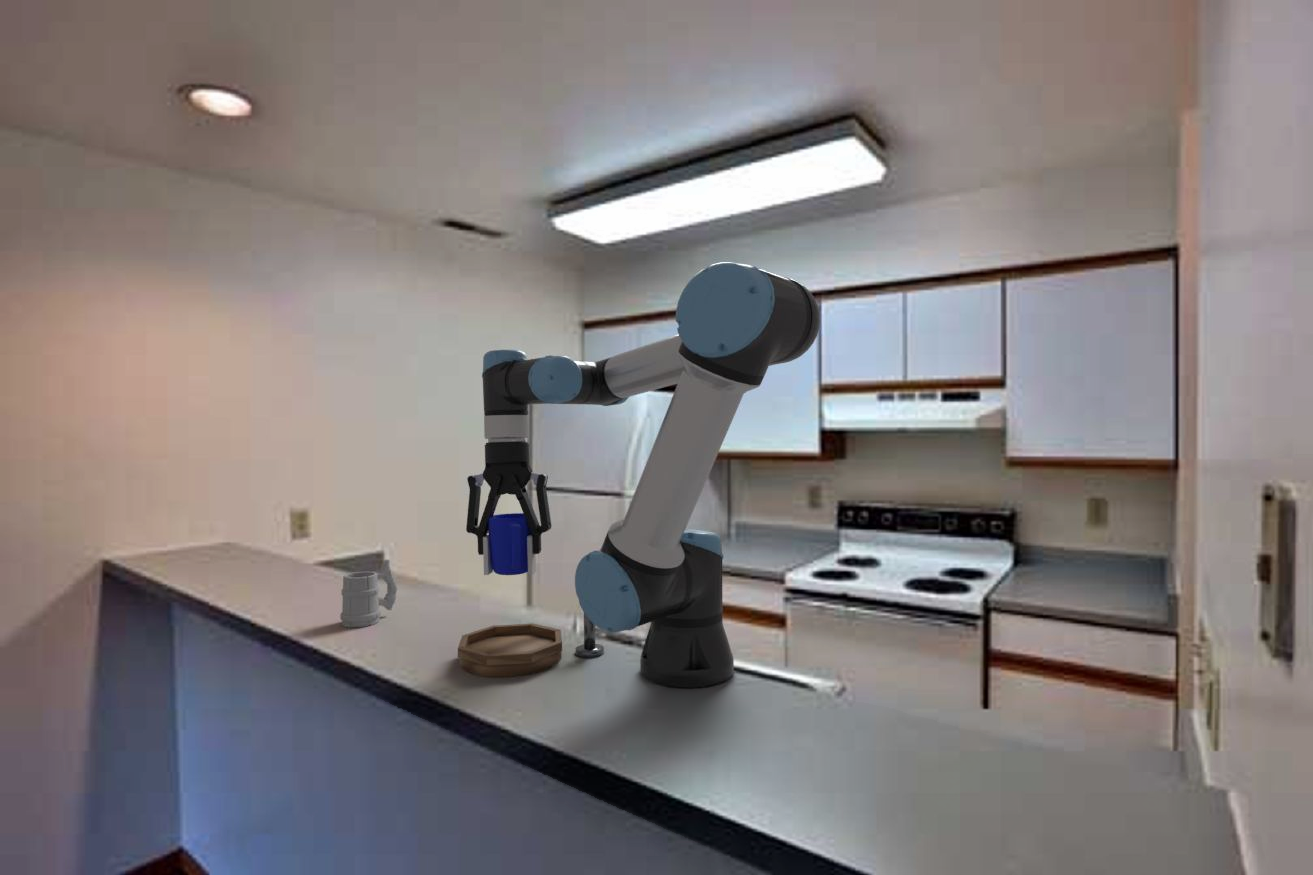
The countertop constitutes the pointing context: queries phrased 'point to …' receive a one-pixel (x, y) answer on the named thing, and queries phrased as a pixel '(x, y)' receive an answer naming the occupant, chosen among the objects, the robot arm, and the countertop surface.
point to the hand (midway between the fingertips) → (510, 572)
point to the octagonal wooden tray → (510, 650)
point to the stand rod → (589, 642)
